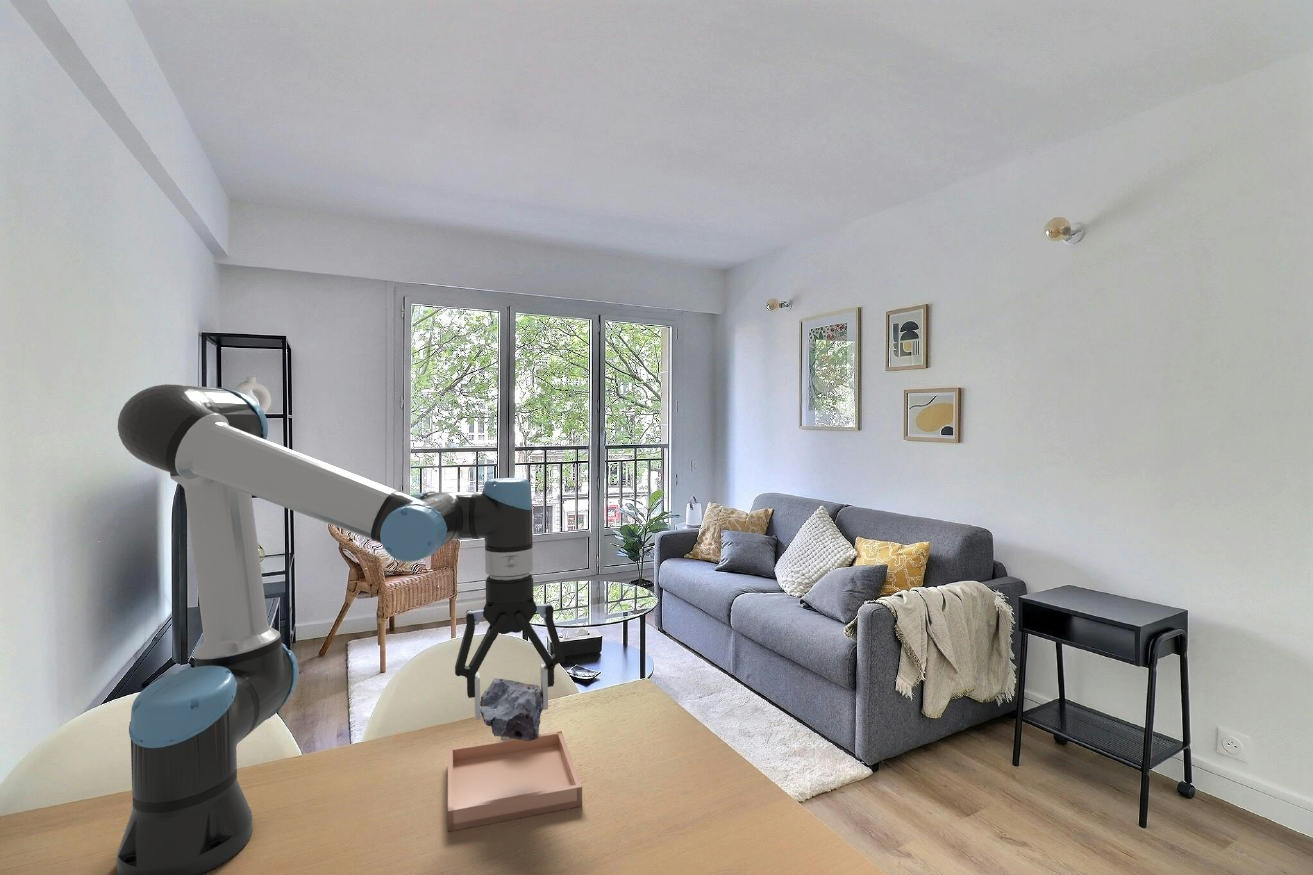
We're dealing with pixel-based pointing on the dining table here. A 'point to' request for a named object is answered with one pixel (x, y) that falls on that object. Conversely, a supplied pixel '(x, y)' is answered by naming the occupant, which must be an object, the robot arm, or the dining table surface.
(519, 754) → the dish
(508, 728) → the rock
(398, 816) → the dining table surface
